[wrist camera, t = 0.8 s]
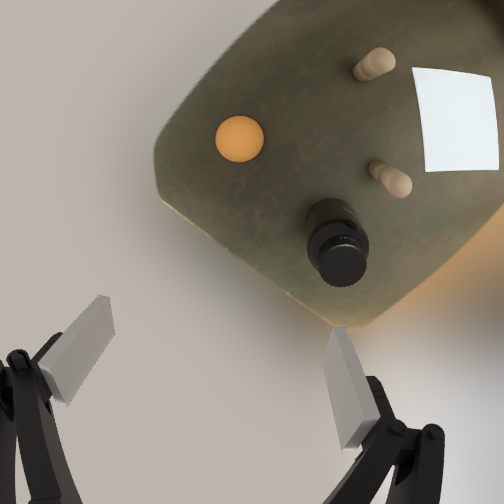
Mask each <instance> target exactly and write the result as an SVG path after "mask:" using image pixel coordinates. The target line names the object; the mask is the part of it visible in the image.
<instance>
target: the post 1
mask: <svg viewBox="0 0 504 504" xmlns="http://www.w3.org/2000/svg"><path fill="white" fill-rule="evenodd" d="M395 63H396V62H395V58H394V56H393V54H392V53H391V52H390V51H389V50H387V49H385V48H381V47H379V48H375V49H374V50H372V51H371V52H370V53H369V54H368V55H367V56H365V57H364V58H363V59H362V60H361V61H360V62H359V63H357V64H356V65H355V66H354V67H353V70H352V73H353V76H354V77H355V79H357V80H358V81H360V82H368V81H370V80H372V79H374V78H376V77H378V76H380V75H382V74H384V73H386V72H388V71H390V70H392V69H393V68H394V67H395Z"/></svg>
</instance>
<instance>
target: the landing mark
mask: <svg viewBox="0 0 504 504" xmlns="http://www.w3.org/2000/svg"><path fill="white" fill-rule="evenodd" d="M412 73H413V77H414V82H415V88H416V93H417V99H418V105H419V112H420V119H421V127H422V137H423V148H424V161H425V172H431V171H455V170H499V156H498V133H497V121H496V112H495V104H494V97H493V90H492V84H491V79H490V77H486V76H481V75H475V74H469V73H463V72H456V71H448V70H439V69H428V68H413V67H412Z"/></svg>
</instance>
